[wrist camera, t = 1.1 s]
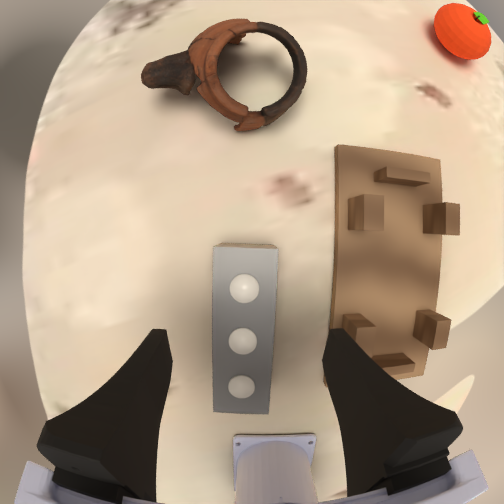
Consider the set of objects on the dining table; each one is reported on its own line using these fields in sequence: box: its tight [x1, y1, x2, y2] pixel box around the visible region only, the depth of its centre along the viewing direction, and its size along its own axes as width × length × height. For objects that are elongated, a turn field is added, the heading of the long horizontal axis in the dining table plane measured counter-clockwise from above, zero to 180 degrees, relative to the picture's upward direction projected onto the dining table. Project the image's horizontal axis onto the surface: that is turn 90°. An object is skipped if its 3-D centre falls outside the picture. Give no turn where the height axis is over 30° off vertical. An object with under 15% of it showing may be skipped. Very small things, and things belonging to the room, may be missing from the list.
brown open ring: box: [141, 19, 307, 131], centre depth 20 cm, size 12×10×8 cm
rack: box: [324, 145, 460, 387], centre depth 21 cm, size 20×10×4 cm, turn 179°
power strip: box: [212, 243, 278, 414], centre depth 21 cm, size 12×4×5 cm, turn 178°
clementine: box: [434, 3, 491, 60], centre depth 18 cm, size 8×7×7 cm
